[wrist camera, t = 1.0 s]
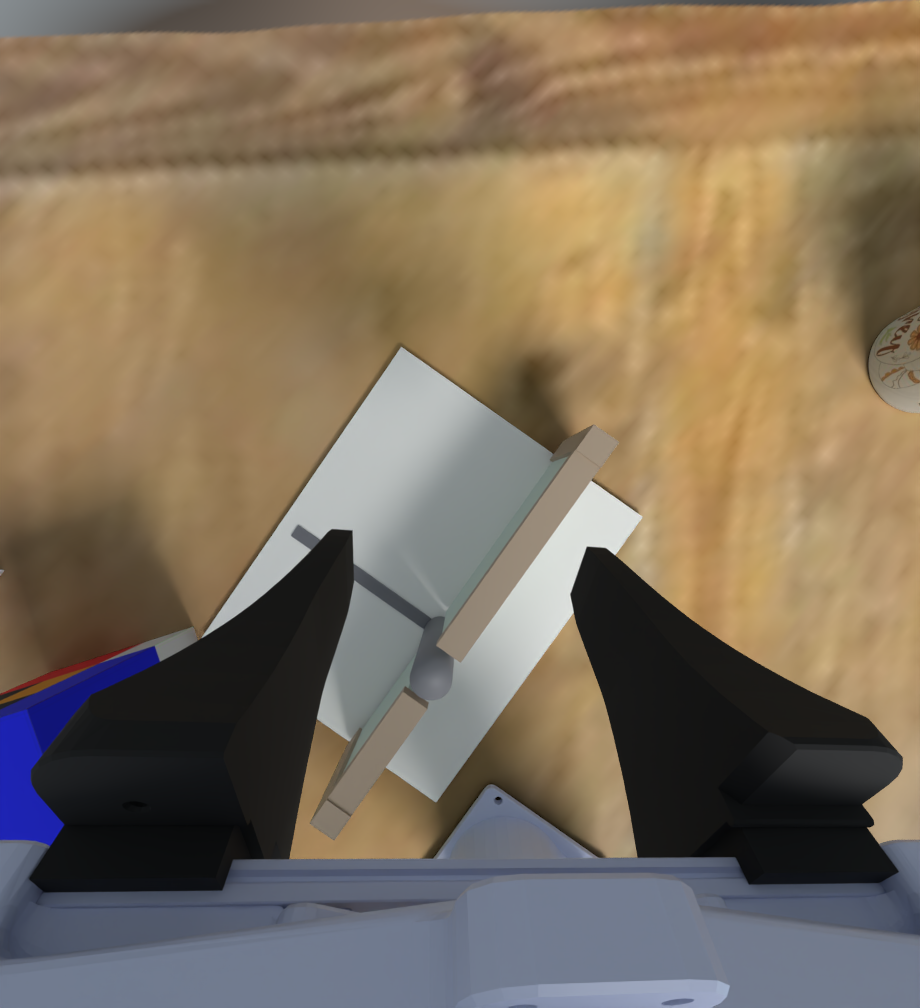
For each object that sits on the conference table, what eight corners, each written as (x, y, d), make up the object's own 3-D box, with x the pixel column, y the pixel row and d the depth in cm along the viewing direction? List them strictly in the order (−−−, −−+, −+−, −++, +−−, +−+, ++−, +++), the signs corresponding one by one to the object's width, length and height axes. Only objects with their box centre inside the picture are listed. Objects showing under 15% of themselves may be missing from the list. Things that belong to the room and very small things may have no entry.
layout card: (640, 516, 25) (643, 517, 25) (436, 797, 26) (435, 803, 26) (402, 349, 25) (401, 346, 25) (205, 635, 26) (200, 638, 26)
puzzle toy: (193, 626, 26) (26, 708, 16) (244, 772, 27) (109, 942, 17) (49, 672, 27) (-203, 781, 17) (100, 817, 27) (-118, 1010, 17)
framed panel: (462, 622, 25) (460, 663, 19) (443, 609, 25) (435, 646, 19) (582, 454, 25) (619, 442, 19) (563, 440, 25) (593, 424, 19)
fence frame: (462, 626, 26) (461, 674, 19) (372, 752, 26) (339, 844, 19) (436, 608, 26) (425, 649, 19) (346, 734, 26) (304, 819, 19)
